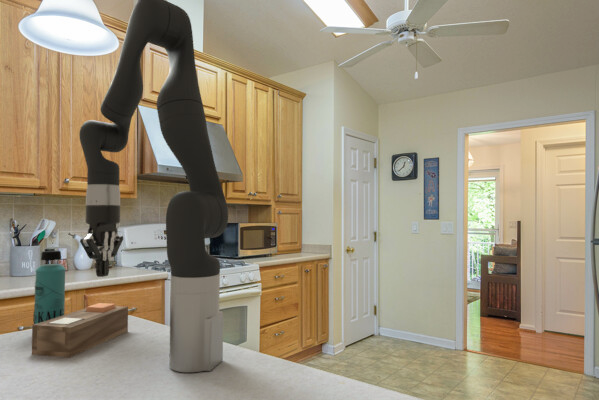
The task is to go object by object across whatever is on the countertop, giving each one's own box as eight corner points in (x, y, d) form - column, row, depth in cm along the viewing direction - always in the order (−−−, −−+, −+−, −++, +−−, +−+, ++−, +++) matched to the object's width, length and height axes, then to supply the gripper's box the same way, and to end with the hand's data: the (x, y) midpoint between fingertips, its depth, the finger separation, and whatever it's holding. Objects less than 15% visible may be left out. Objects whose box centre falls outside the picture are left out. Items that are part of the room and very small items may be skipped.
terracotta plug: (114, 324, 99) (115, 303, 99) (102, 329, 95) (103, 307, 95) (98, 323, 100) (99, 302, 100) (86, 328, 96) (86, 306, 96)
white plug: (82, 342, 88) (82, 318, 89) (66, 348, 84) (67, 324, 84) (64, 340, 89) (65, 317, 89) (48, 347, 85) (49, 322, 85)
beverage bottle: (46, 329, 102) (48, 249, 102) (71, 330, 101) (73, 249, 101) (25, 337, 95) (28, 251, 96) (51, 338, 94) (53, 252, 95)
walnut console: (127, 331, 100) (128, 306, 101) (69, 357, 82) (70, 327, 82) (95, 329, 102) (96, 305, 102) (31, 354, 84) (32, 325, 84)
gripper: (98, 202, 91) (97, 280, 91) (133, 204, 104) (133, 272, 104) (69, 203, 93) (68, 280, 92) (107, 205, 106) (107, 272, 105)
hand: (102, 276), depth 98 cm, fingers closed
